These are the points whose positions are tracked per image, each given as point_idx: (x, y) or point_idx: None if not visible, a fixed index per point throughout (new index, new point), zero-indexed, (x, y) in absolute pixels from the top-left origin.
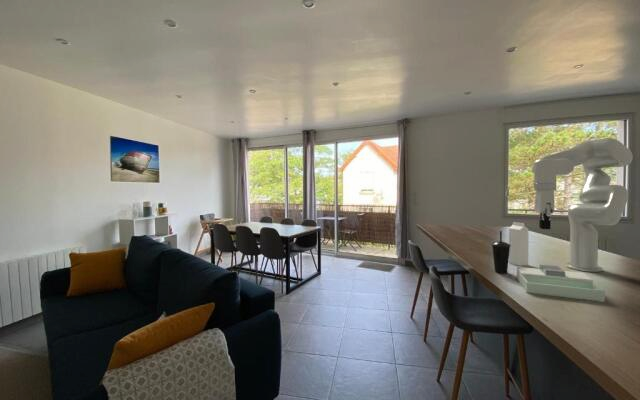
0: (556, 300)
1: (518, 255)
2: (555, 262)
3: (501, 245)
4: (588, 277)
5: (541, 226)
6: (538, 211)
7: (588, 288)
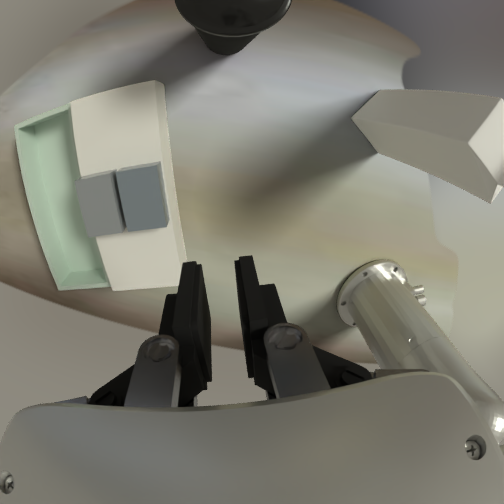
0: (19, 186)
1: (376, 116)
2: (420, 240)
3: None
4: (132, 286)
5: (180, 276)
6: (80, 424)
7: None
